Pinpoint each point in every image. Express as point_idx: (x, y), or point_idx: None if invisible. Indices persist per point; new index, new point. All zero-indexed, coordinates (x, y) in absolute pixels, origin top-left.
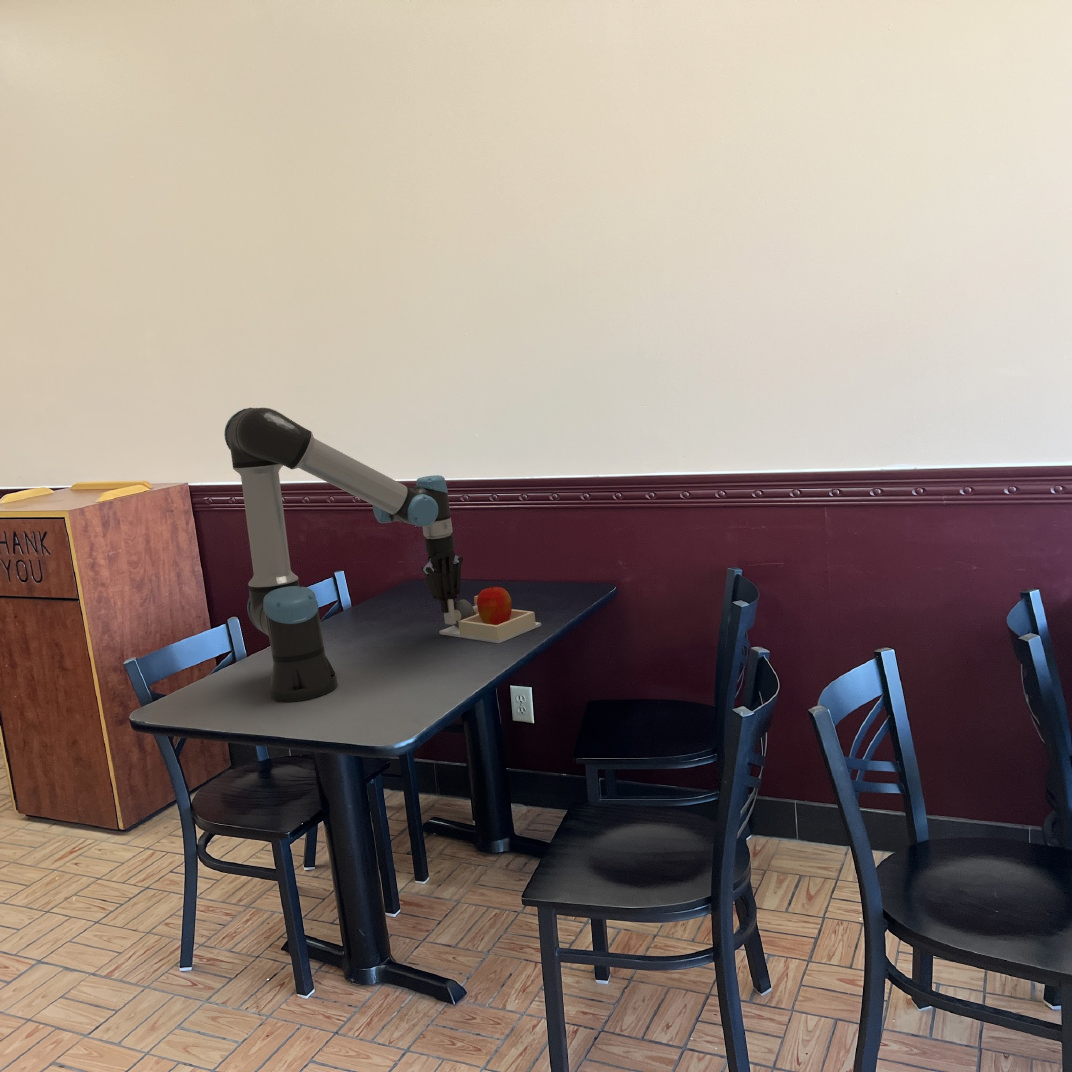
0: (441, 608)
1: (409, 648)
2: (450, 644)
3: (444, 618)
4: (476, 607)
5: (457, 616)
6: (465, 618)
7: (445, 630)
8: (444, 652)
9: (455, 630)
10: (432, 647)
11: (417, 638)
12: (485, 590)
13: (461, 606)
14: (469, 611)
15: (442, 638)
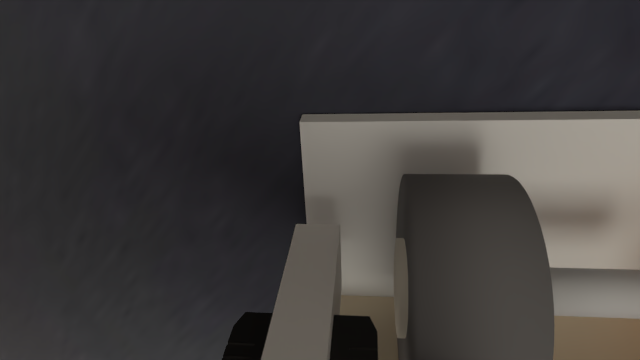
0: (225, 349)
1: (15, 160)
2: (204, 310)
3: (289, 251)
4: (633, 317)
5: (395, 287)
6: (398, 339)
7: (332, 154)
8: (119, 355)
9: (359, 220)
10: (118, 264)
11: (149, 32)
12: None
13: None
14: None
15: (248, 202)
